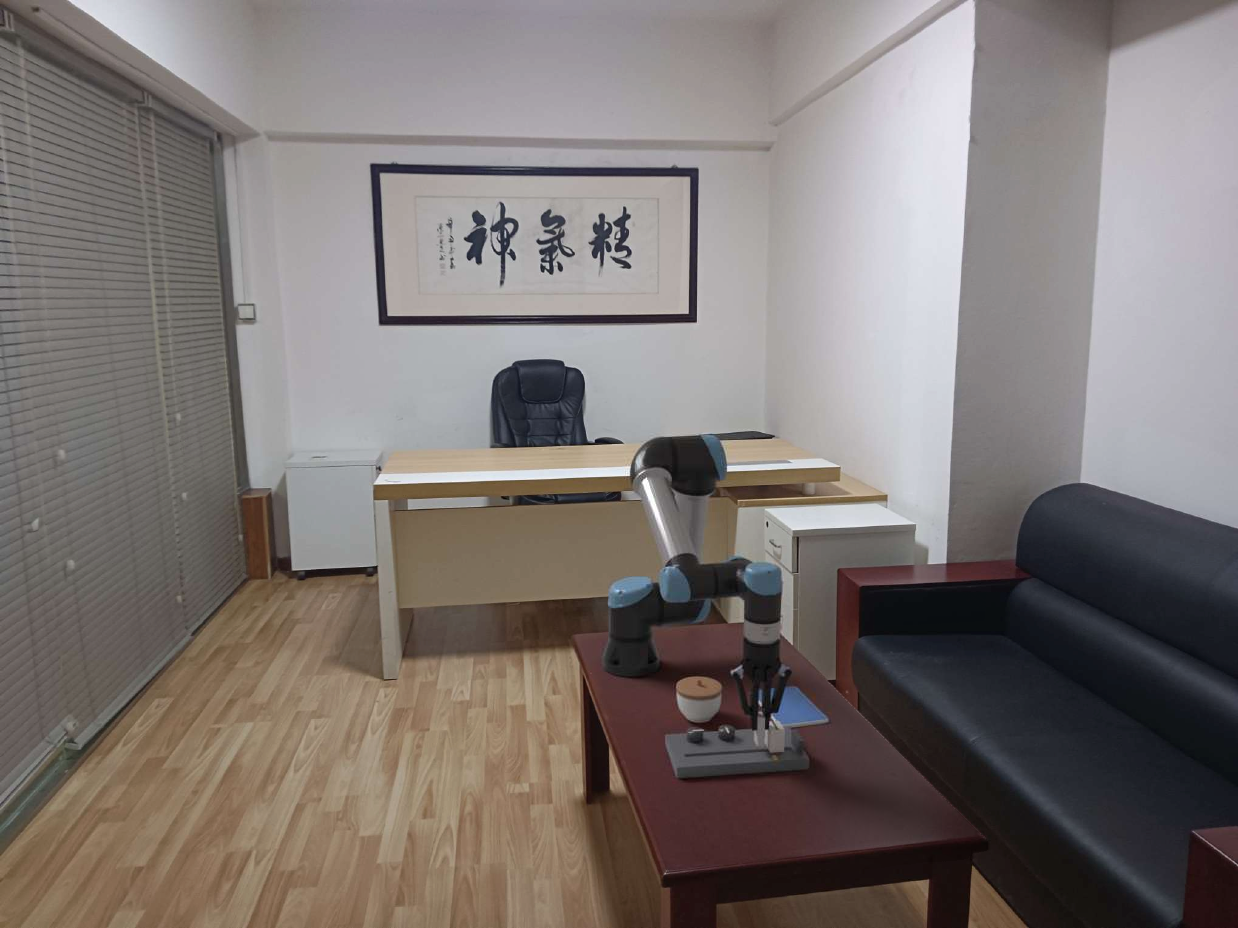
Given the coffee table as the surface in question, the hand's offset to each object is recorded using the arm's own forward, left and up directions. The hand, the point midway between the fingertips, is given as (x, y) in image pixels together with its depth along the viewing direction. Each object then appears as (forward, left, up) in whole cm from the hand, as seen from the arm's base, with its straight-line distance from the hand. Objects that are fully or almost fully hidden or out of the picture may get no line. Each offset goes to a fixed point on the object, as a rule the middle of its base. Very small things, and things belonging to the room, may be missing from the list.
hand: (759, 743), depth 189 cm
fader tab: (0, +3, -1) cm, 4 cm away
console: (-3, -4, -4) cm, 7 cm away
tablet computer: (-24, +14, -5) cm, 28 cm away
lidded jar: (-22, -8, -4) cm, 24 cm away
